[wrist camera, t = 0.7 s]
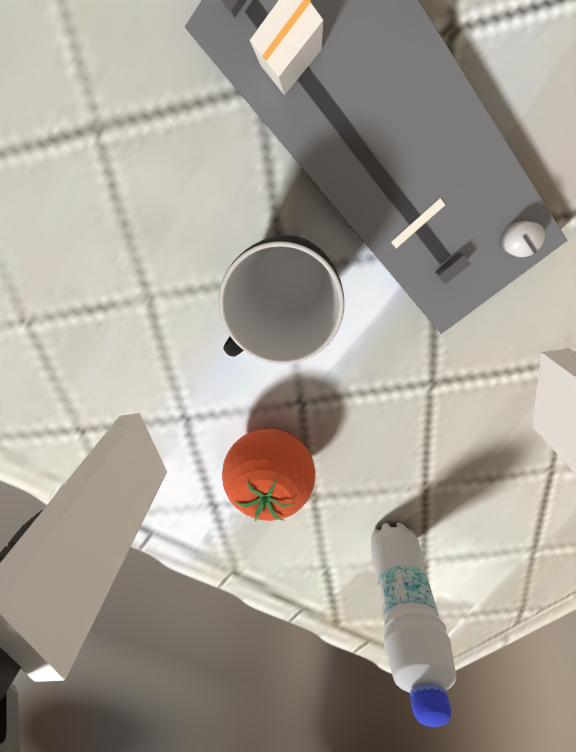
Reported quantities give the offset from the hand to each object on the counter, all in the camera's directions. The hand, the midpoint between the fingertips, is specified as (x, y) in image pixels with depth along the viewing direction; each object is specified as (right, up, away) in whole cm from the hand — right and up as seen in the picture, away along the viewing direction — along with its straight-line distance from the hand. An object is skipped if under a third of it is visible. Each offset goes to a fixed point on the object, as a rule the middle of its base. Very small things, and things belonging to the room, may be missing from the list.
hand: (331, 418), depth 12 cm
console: (+7, +20, +17) cm, 27 cm away
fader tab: (-1, +24, +13) cm, 27 cm away
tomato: (-3, -7, +32) cm, 33 cm away
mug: (-2, +10, +23) cm, 25 cm away
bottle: (+13, -20, +38) cm, 45 cm away
